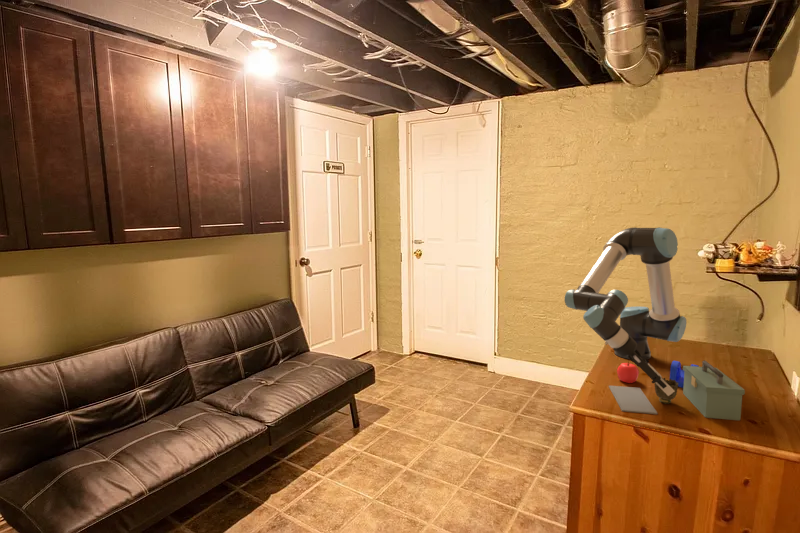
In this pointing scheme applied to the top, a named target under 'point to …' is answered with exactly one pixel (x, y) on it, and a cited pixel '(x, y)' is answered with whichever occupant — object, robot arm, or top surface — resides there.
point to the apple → (627, 372)
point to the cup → (662, 395)
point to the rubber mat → (632, 400)
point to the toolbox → (712, 392)
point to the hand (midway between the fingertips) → (664, 385)
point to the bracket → (678, 373)
